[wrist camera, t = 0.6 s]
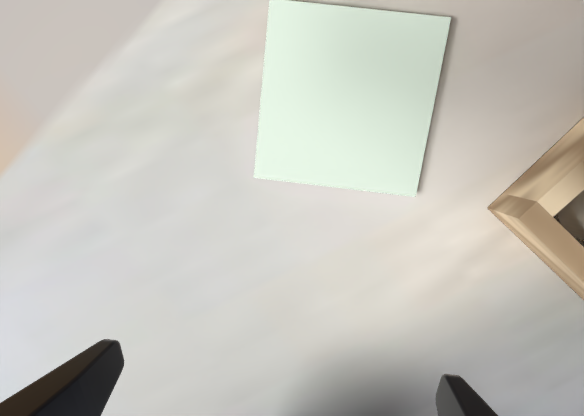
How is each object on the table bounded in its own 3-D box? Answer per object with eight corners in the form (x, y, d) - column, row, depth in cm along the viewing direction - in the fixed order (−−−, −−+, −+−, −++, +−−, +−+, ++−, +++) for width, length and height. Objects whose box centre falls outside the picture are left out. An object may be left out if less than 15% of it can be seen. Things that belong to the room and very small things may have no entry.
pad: (411, 195, 23) (415, 197, 22) (255, 176, 24) (253, 177, 23) (445, 22, 21) (451, 17, 20) (271, 3, 21) (269, -2, 20)
